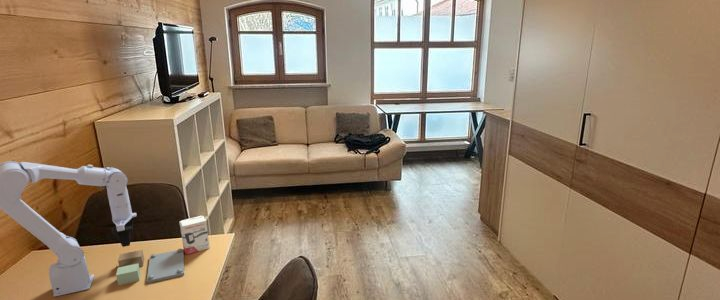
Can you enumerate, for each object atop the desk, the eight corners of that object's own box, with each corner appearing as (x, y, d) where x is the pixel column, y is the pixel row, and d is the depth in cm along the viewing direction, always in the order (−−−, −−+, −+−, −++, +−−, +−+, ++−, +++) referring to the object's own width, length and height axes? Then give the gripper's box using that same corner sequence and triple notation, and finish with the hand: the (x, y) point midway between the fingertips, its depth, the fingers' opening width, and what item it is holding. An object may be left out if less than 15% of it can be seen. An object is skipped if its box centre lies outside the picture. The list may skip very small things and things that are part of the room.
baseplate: (147, 283, 127) (146, 279, 127) (150, 258, 141) (149, 254, 141) (184, 275, 131) (183, 271, 131) (183, 251, 145) (183, 247, 145)
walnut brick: (120, 271, 134) (118, 260, 133) (121, 264, 138) (119, 254, 137) (143, 266, 137) (141, 256, 136) (144, 259, 141) (142, 249, 140)
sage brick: (118, 285, 126) (115, 275, 125) (120, 278, 130) (117, 267, 129) (139, 281, 129) (137, 270, 128) (140, 273, 133) (138, 263, 132)
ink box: (186, 255, 143) (181, 226, 139) (183, 249, 147) (178, 220, 143) (210, 248, 147) (206, 219, 144) (207, 242, 151) (203, 214, 148)
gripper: (131, 210, 126) (138, 248, 130) (135, 193, 138) (142, 228, 142) (105, 214, 123) (114, 252, 127) (112, 197, 136) (120, 232, 140)
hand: (127, 240), depth 135 cm, fingers open, 7 cm apart
